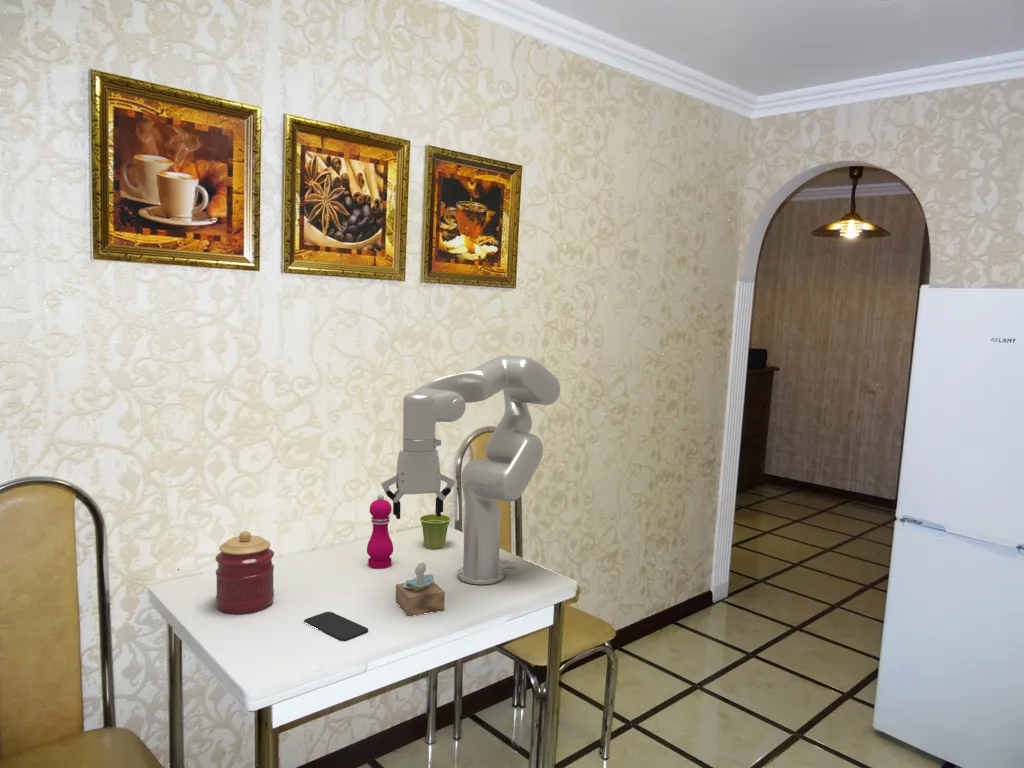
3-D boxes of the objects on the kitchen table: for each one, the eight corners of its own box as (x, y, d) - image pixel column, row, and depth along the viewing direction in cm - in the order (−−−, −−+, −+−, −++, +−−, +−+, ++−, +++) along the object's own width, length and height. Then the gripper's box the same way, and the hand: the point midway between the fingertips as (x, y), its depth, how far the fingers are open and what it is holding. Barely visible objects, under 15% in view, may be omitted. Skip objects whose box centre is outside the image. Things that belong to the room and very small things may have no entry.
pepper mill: (398, 564, 201) (399, 493, 199) (380, 571, 195) (381, 498, 193) (379, 558, 205) (380, 489, 203) (361, 565, 199) (361, 494, 197)
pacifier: (397, 588, 172) (414, 594, 168) (397, 562, 171) (413, 568, 167) (420, 580, 177) (437, 586, 173) (420, 555, 177) (437, 560, 173)
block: (430, 598, 178) (430, 579, 178) (444, 612, 170) (444, 591, 170) (395, 604, 174) (395, 584, 174) (407, 618, 166) (408, 597, 166)
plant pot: (455, 544, 220) (456, 516, 219) (440, 553, 211) (441, 524, 211) (429, 539, 224) (429, 512, 223) (413, 548, 215) (413, 519, 214)
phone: (329, 610, 167) (370, 629, 158) (329, 614, 168) (370, 632, 158) (301, 620, 162) (343, 640, 152) (301, 623, 162) (343, 643, 152)
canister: (215, 597, 174) (214, 525, 173) (271, 590, 179) (271, 521, 178) (216, 618, 162) (215, 542, 161) (276, 610, 167) (276, 536, 166)
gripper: (451, 441, 175) (450, 510, 177) (380, 443, 170) (379, 514, 172) (458, 447, 168) (457, 518, 170) (384, 449, 163) (383, 523, 165)
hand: (418, 516), depth 171 cm, fingers open, 9 cm apart
